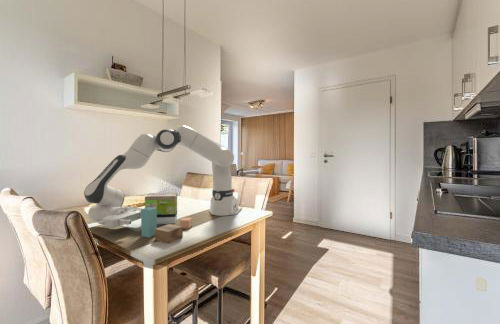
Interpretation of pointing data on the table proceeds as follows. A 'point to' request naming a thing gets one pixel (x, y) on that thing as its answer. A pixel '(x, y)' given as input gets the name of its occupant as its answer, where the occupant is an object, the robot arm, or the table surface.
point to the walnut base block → (168, 233)
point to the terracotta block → (186, 222)
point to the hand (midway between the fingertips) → (138, 219)
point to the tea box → (163, 206)
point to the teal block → (148, 221)
